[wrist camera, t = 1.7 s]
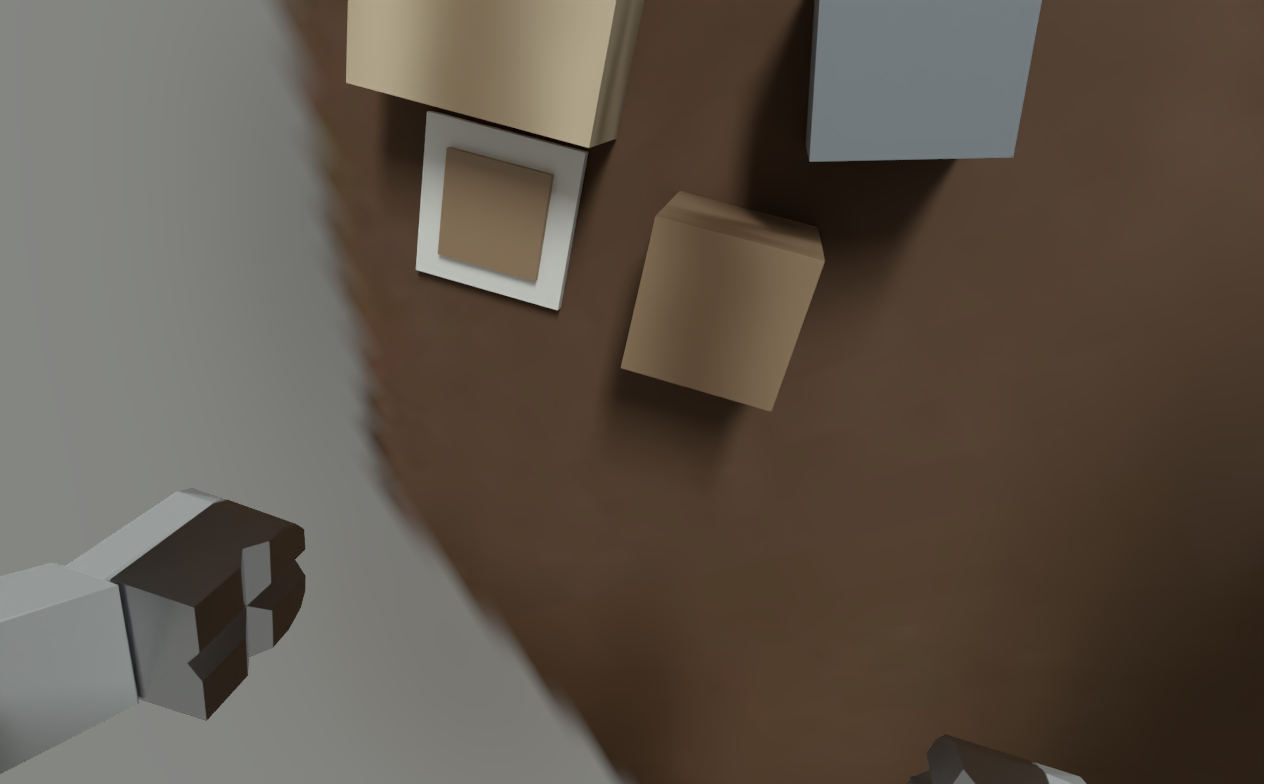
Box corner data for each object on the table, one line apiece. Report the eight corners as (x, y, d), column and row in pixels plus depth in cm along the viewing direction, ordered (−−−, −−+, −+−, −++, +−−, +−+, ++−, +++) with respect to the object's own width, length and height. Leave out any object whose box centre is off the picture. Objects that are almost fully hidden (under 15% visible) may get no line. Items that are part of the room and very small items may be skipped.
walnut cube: (817, 226, 23) (824, 260, 19) (774, 354, 26) (771, 411, 21) (680, 190, 24) (655, 215, 19) (648, 319, 26) (620, 367, 22)
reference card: (588, 151, 24) (583, 153, 23) (560, 307, 27) (555, 312, 26) (432, 110, 24) (422, 111, 24) (420, 267, 27) (412, 271, 27)
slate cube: (995, -44, 19) (1056, -80, 15) (966, 141, 21) (1013, 157, 17) (815, -29, 20) (823, -60, 16) (805, 145, 22) (809, 161, 18)
